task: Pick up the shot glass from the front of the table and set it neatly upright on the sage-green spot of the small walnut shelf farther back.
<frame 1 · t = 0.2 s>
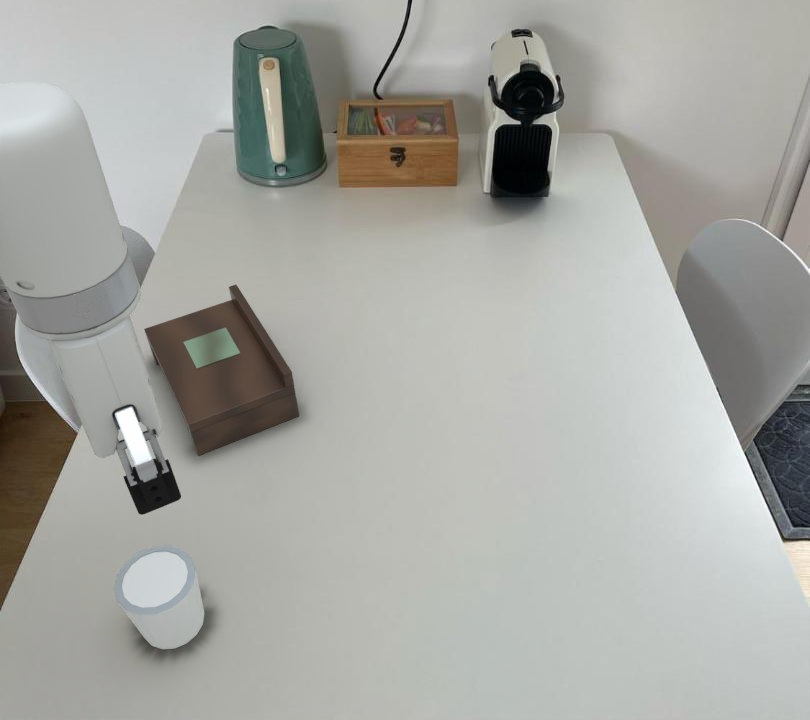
hand: (142, 460, 63), 19 cm above the table, tool pointing down, fingers open, 9 cm apart
shelf: (223, 386, 96), on the table
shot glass: (173, 621, 74), on the table
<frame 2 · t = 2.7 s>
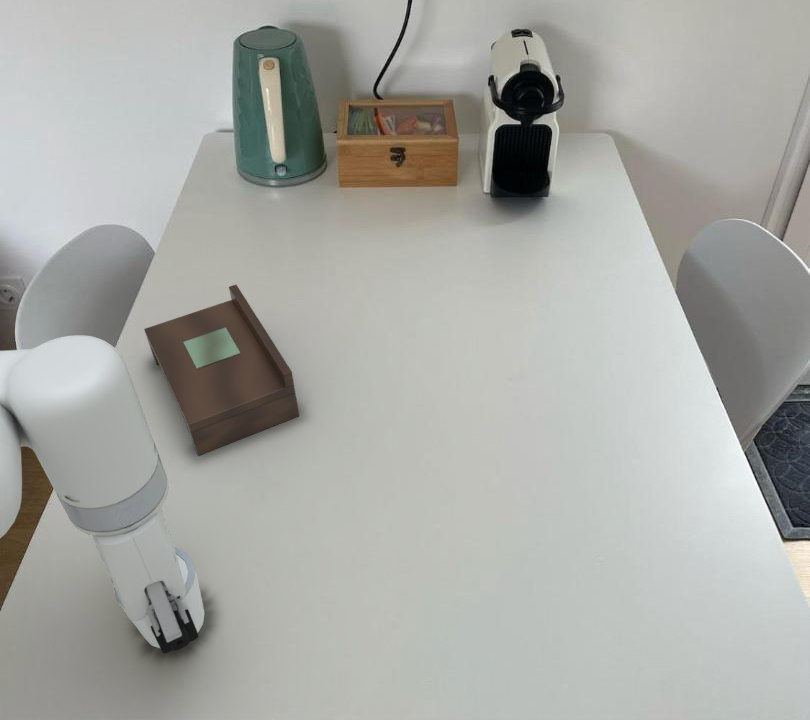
hand: (168, 608, 72), 2 cm above the table, tool pointing down, fingers closed on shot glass, 6 cm apart
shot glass: (173, 621, 74), on the table, touching gripper
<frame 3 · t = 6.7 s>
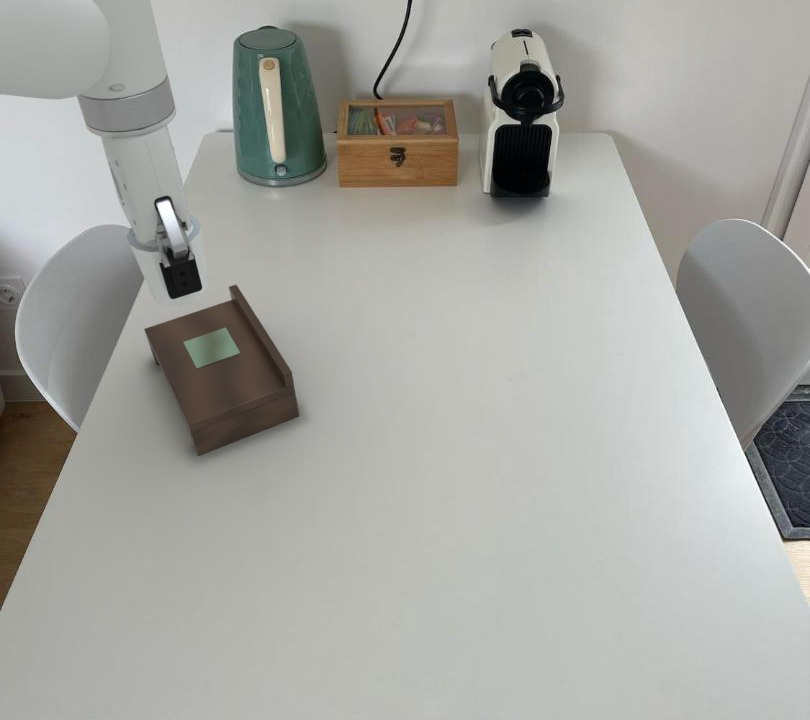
hand: (174, 271, 80), 20 cm above the table, tool pointing down, fingers closed on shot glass, 6 cm apart
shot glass: (180, 290, 82), point 17 cm above the table, touching gripper
when the fingers open (7 cm above the table, at t = 10.6 s): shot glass stays where it is, resting on shelf.
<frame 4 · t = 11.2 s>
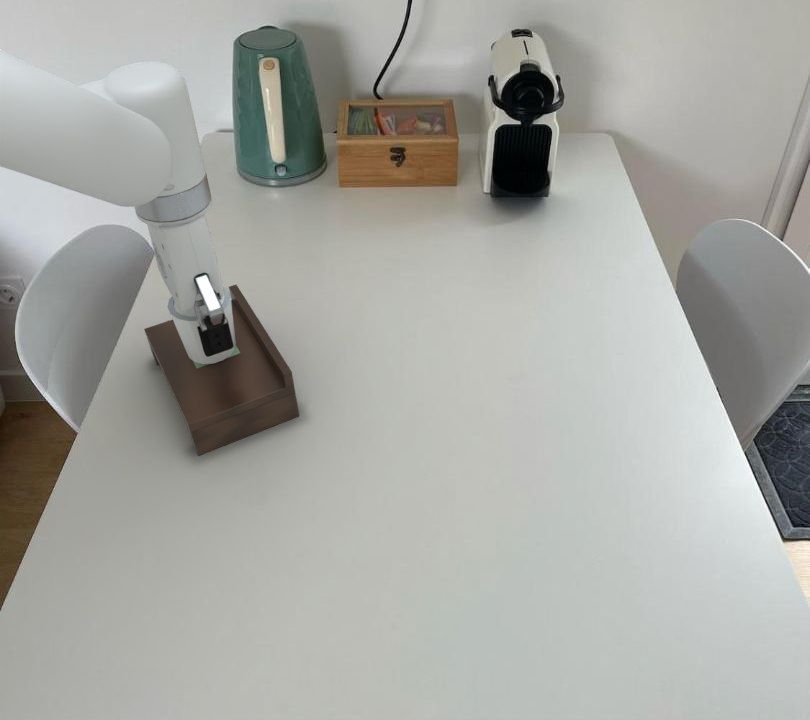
hand: (205, 326, 92), 8 cm above the table, tool pointing down, fingers open, 9 cm apart
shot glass: (211, 348, 94), point 5 cm above the table, touching shelf
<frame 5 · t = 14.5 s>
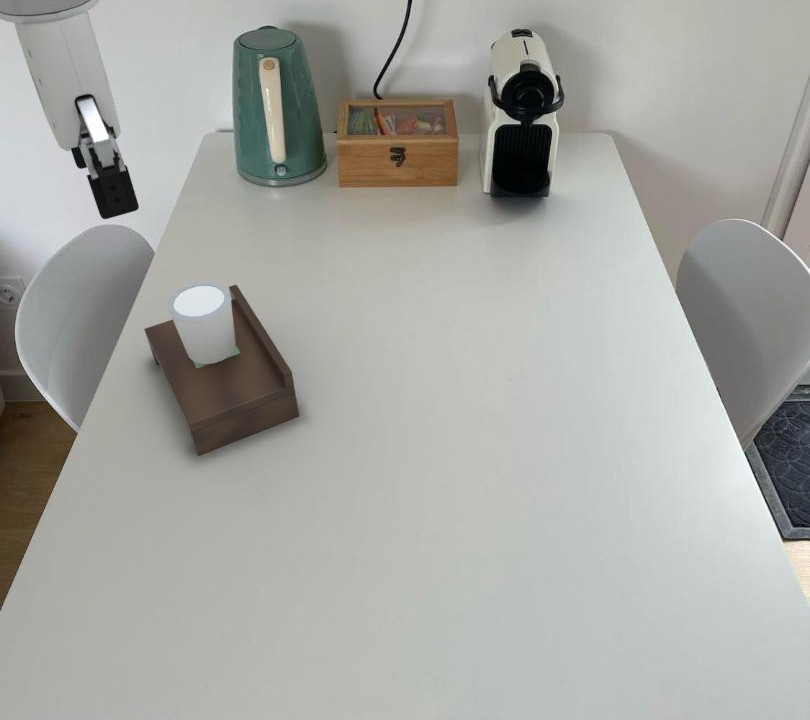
hand: (107, 187, 72), 30 cm above the table, tool pointing down, fingers open, 9 cm apart
nothing on the table moved.
at the end: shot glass inside the target area on the shelf (0.0 cm from its centre), point 4.9 cm above the shelf's base; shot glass tilted 0°; the gripper is holding nothing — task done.
